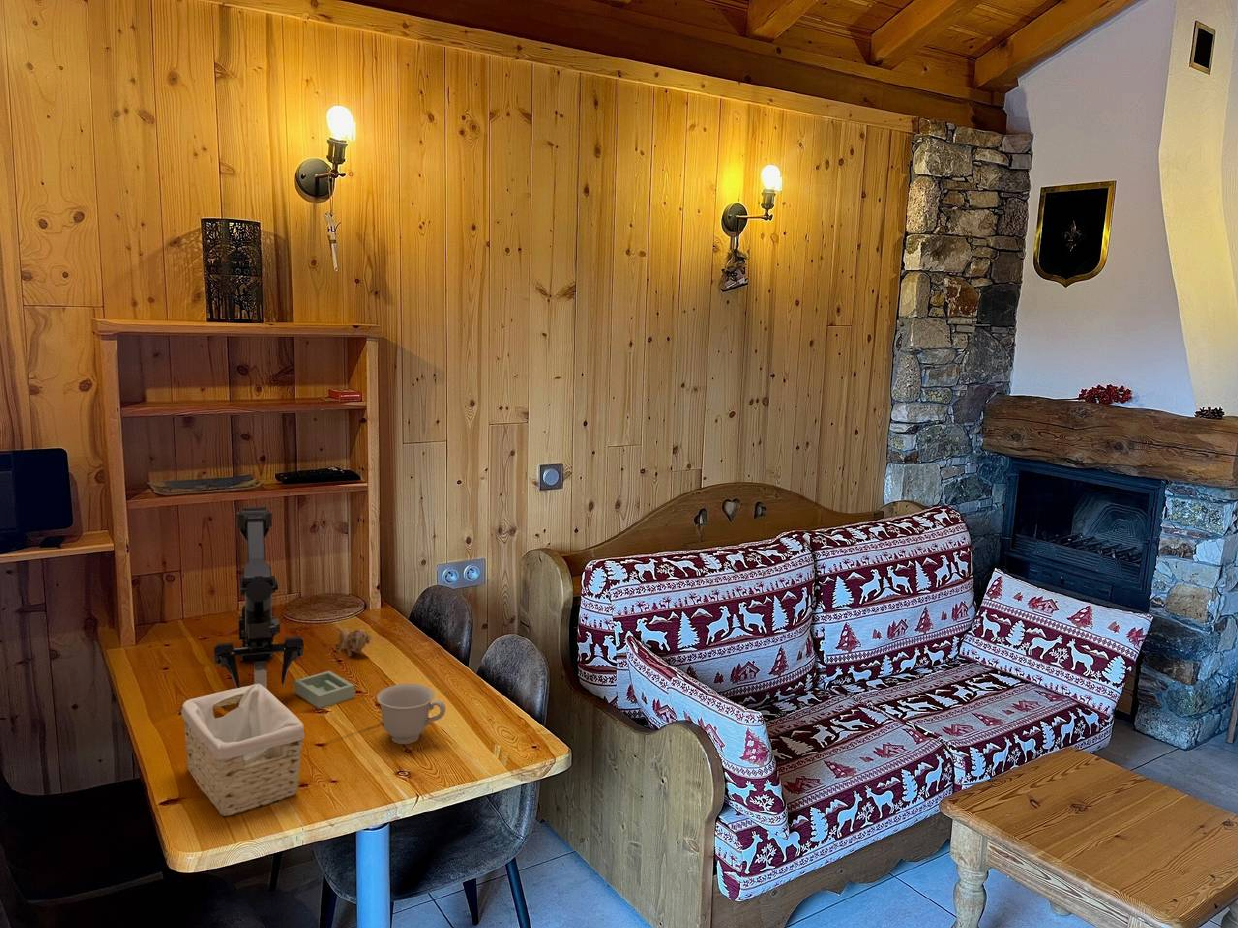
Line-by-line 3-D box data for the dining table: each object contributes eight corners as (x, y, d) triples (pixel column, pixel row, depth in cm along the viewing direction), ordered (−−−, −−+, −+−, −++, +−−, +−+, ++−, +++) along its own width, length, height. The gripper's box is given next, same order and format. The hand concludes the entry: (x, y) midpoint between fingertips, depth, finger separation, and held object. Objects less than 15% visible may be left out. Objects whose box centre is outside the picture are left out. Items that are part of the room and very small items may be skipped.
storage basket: (180, 768, 180) (178, 698, 178) (262, 745, 191) (262, 680, 188) (219, 824, 162) (217, 748, 160) (308, 796, 173) (307, 724, 170)
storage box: (294, 696, 213) (294, 680, 212) (329, 685, 219) (329, 670, 219) (319, 712, 206) (319, 696, 205) (354, 701, 212) (354, 685, 211)
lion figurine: (374, 662, 236) (374, 629, 234) (355, 667, 232) (356, 634, 230) (343, 645, 246) (343, 613, 244) (325, 650, 242) (325, 618, 240)
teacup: (432, 757, 190) (433, 712, 188) (366, 746, 193) (367, 702, 191) (454, 731, 202) (455, 689, 200) (391, 721, 204) (392, 680, 203)
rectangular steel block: (254, 707, 206) (254, 661, 204) (266, 706, 207) (265, 660, 205) (255, 717, 201) (254, 670, 199) (266, 716, 202) (266, 669, 200)
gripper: (213, 609, 200) (213, 676, 192) (302, 603, 207) (306, 667, 199) (214, 630, 208) (215, 696, 200) (300, 623, 216) (304, 686, 208)
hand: (260, 686), depth 202 cm, fingers open, 9 cm apart
